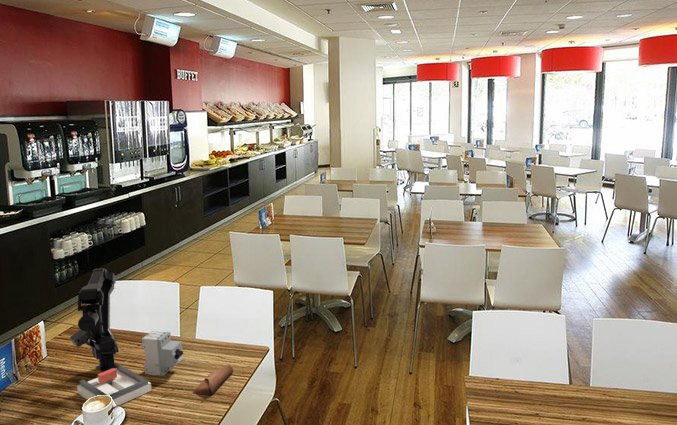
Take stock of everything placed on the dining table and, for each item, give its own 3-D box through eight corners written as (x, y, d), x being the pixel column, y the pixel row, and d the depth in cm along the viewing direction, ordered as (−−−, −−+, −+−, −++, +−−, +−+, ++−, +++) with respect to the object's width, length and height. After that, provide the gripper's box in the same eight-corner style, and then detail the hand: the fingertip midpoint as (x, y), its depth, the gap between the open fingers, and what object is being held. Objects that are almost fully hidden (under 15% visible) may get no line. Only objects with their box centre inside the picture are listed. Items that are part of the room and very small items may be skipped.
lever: (99, 387, 203) (97, 374, 202) (114, 381, 207) (113, 368, 206) (102, 389, 201) (100, 376, 200) (117, 383, 206) (116, 369, 205)
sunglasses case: (213, 370, 216) (220, 357, 214) (228, 380, 215) (235, 367, 213) (191, 393, 199) (198, 380, 197) (206, 404, 198) (214, 391, 196)
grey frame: (79, 384, 202) (79, 381, 201) (120, 368, 214) (120, 364, 213) (106, 402, 189) (106, 398, 189) (148, 384, 201) (148, 380, 201)
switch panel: (78, 393, 201) (77, 385, 201) (123, 374, 215) (122, 367, 214) (104, 411, 189) (103, 403, 188) (151, 390, 202) (150, 382, 202)
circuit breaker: (178, 376, 212) (175, 340, 209) (144, 374, 215) (141, 338, 212) (187, 367, 219) (184, 332, 216) (154, 365, 222) (151, 330, 219)
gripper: (60, 321, 203) (65, 360, 207) (83, 334, 191) (89, 374, 195) (89, 312, 212) (94, 349, 215) (114, 323, 200) (118, 363, 203)
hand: (98, 359), depth 207 cm, fingers closed
